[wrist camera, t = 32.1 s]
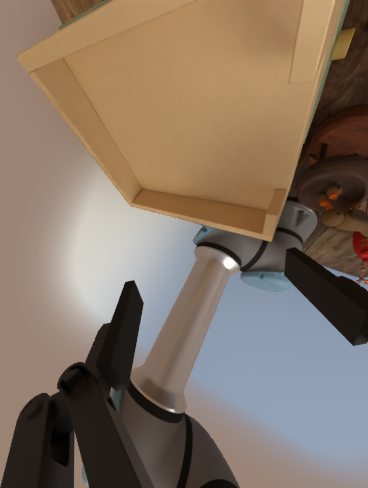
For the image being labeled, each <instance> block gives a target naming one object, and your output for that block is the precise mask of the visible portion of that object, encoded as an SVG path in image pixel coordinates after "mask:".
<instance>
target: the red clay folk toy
mask: <svg viewBox="0 0 368 488" xmlns="http://www.w3.org/2000/svg"><path fill="white" fill-rule="evenodd" d="M353 246H354V250H355V252H356V254H357V255H358V256H359V257H360V258H362V261H363V262H364V267H362V268H361V270H362V273H361V276H360V278H359V280H357V281H359V282H358V283H357V284H359V283H360V282H362V281H364V282H365V284H368V280H365V279H363V275H364V271H366V270H365V267H366V265H367V264H368V237H365V236H364V235H363V234H362V233H360V232H359V231H354V234H353Z"/></svg>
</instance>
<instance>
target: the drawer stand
mask: <svg viewBox="0 0 368 488" xmlns="http://www.w3.org/2000/svg"><path fill="white" fill-rule="evenodd" d="M349 2H350V0H104V1H102V2H101V3H99V4H97V5H95V6H94V7H92V8H90V9H89V10H87V11H85V12H84V13H82V14H80V15H79V16H77V17H75V18H74V19H72V20H70V21H69V22H67V23H65V24H63V25H62V26H60V27H59V29H60V30H59V31H57V32H56V33H54V34H52V35H51V36H49V37H47V38H45V39H44V40H42V41H40V42H38V43H37V44H35V45H33V46H31V47H30V48H28V49H26V50H25V51H23V52H21V53H19V54H17V55H16V58H17V59H18V60H19V62H20V63H21V64H22V66H23V67H24V68H25V70H26V71H27V72H29V75H30V76H31V77H32V79H33V80H34V81H35V83H36V84H37V85H38V86H39V88H40V89H41V90H42V92H43V93H44V94H45V95H46V97H47V98H48V99H49V101H50V102H51V103H52V105H53V106H54V107H55V109H56V110H57V111H58V112H59V114H60V115H61V116H62V118H63V119H64V120H65V122H66V123H67V124H68V125H69V127H70V128H71V129H72V131H73V132H74V133H75V135H76V136H77V137H78V139H79V140H80V141H81V142H82V144H83V145H84V146H85V148H86V149H87V150H88V151H89V153H90V154H91V156H92V157H93V158H94V159H95V161H96V162H97V163H98V165H99V166H100V167H101V168H102V170H103V171H104V173H105V174H106V175H107V176H108V178H109V179H110V180H111V182H112V183H113V184H114V185H115V187H116V188H117V189H118V191H119V192H120V193H121V195H122V196H123V197H124V199H125V200H126V201H127V203H128V204H129V205H130V206H131V207H135V208H140V209H143V210H147V211H151V212H155V213H159V214H163V215H167V216H171V217H175V218H179V219H183V220H187V221H191V222H195V223H199V224H203V225H207V226H210V227H214V228H218V229H222V230H226V231H230V232H234V233H238V234H242V235H246V236H250V237H254V238H258V239H262V240H266V241H270V242H271V241H272V239H273V236H274V233H275V230H276V227H277V224H278V222H279V219H280V216H281V213H282V210H283V207H284V204H285V201H286V198H287V196H288V193H289V190H290V187H291V183H292V180H293V177H294V173H295V170H296V166H297V163H298V160H299V156H300V153H301V149H302V146H303V144H304V142H305V139H306V137H307V134H308V131H309V128H310V125H311V122H312V120H313V117H314V114H315V111H316V108H317V105H318V102H319V100H320V96H321V93H322V90H323V87H324V83H325V80H326V77H327V74H328V70H329V67H330V64H331V60H336V59H342V58H345V56H346V53H347V51H348V48H349V45H350V42H351V39H352V36H353V33H354V30H355V28H352V29H347V30H343V31H341V28H342V25H343V21H344V18H345V15H346V11H347V8H348V5H349Z"/></svg>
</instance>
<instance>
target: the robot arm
mask: <svg viewBox="0 0 368 488" xmlns="http://www.w3.org/2000/svg"><path fill="white" fill-rule="evenodd" d="M317 222H318V213H317V211H315V210H312V209H309V208H307V207H306V206H304V205H303V204H302V203H301V202H300V201H299V200H298V199H293V198H286V201H285V204H284V207H283V210H282V213H281V216H280V219H279V222H278V224H277V227H276V230H275V233H274V236H273V239H272V241H271V242H270V241H266V240H262V239H258V238H254V237H250V236H246V235H242V234H238V233H234V232H230V231H226V230H222V229H218V228H214V227H210V226H207V225H203V227H202V228H201V229H200V231H199V232H198V233H197V235H196V236H195V238H194V239H193V242H194V243H195V245H197V247H196V248H195V251H194V253H195V256H196V262H195V264H194V266H193V268H192V270H191V272H190V274H189V276H188V278H187V280H186V282H185V284H184V286H183V288H182V290H181V292H180V294H179V296H178V298H177V300H176V302H175V304H174V306H173V307H172V309H171V311H170V313H169V315H168V318H167V319H166V321H165V323H164V325H163V327H162V329H161V331H160V333H159V335H158V337H157V339H156V341H155V343H154V345H153V347H152V349H151V351H150V353H149V355H148V357H147V359H146V361H145V363H144V364H143V365H142V366H140V367H137V368H135V369H133V370H132V365H133V359H134V354H135V348H136V342H137V337H138V332H139V326H140V321H141V315H142V309H143V304H144V303H143V301H142V298H141V296H140V293H139V291H138V288H137V286H136V284H135V281H134V280H133V281H128V282H125V284H124V288H123V290H122V293H121V296H120V298H119V301H118V304H117V307H116V309H115V312H114V315H113V318H112V320H111V323H107V324H103V326H102V327H101V328H100V330H99V331H98V333H97V335H96V338H95V341H94V342H93V345H92V347H91V350H90V352H89V354H88V357H87V359H86V362H85V364H84V363H83V362H77V363H75V364H73V365H71V366H70V367H68V368H67V369H66V370H65V371H64V372H63V374H62V375H61V377H60V378H59V381H58V384H57V389H59V390H60V391H59V392H58V393H56V394H54V395H52V396H49V395H48V394H47V393H41V394H39V395H37V396H35V397H34V398H33V399H31V400H30V401H29V402H28V403H27V404H26V405H25V407H24V408H23V410H22V411H21V413H20V415H19V417H18V420H17V423H16V427H15V431H14V435H13V439H12V443H11V447H10V452H9V455H8V459H7V463H6V467H5V471H4V475H3V479H2V483H1V487H0V488H74V430H75V434H76V438H77V442H78V446H79V450H80V454H81V458H82V462H83V467H82V478H83V481H84V483H85V484H86V485H88V486H89V488H240V487H239V485H238V483H237V481H236V479H235V477H234V475H233V473H232V471H231V469H230V467H229V466H228V464H227V462H226V460H225V459H224V457H223V455H222V453H221V452H220V450H219V448H218V447H217V445H216V444H215V442H214V441H213V439H212V438H211V437H210V435H209V434H208V433H207V431H206V430H205V429H204V428H203V427H202V426H201V425H200V424H199V423H198V422H197V421H196V420H195V419H194V418H192V417H190V416H188V415H187V414H185V410H186V407H187V405H186V400H185V396H184V388H185V386H186V383H187V381H188V378H189V376H190V373H191V371H192V368H193V366H194V363H195V360H196V358H197V356H198V353H199V351H200V348H201V346H202V344H203V341H204V338H205V336H206V334H207V331H208V329H209V326H210V324H211V321H212V318H213V316H214V314H215V311H216V309H217V306H218V304H219V301H220V299H221V296H222V294H223V291H224V289H225V286H226V284H227V281H228V279H229V276H230V275H232V274H235V273H238V272H239V270H240V271H242V273H241V280H243V282H245V283H246V284H248V285H251V286H253V287H256V288H259V289H262V290H267V291H273V292H284V291H287V290H289V289H290V288H291V286H292V284H293V285H294V286H295V287H296V288H297V289H298V290H299V291H300V292H301V293H302V294H303V295H304V296H305V297H306V298H307V299H308V300H309V301H310V302H311V303H312V304H313V305H314V306H315V307H316V308H317V309H318V310H319V311H320V312H321V313H322V314H323V315H324V316H325V317H326V318H327V319H328V321H329V322H331V324H332V325H333V326H335V328H336V329H337V330H338V331H339V332H340V333H341V334H342V335H343V336H344V337H345V338H346V339H347V340H348V341H349V342H350V343H351V344H352V345H353V346H355V345H361V344H366V343H367V342H368V291H367V290H366V289H365V288H363V287H361V286H360V285H359V284H357V283H356V282H354V281H353V280H351V279H348V278H346V277H343V276H339V277H337V276H335V275H334V274H332V273H331V272H330V271H328V270H326V269H325V268H324V267H323V266H321V265H320V264H318V263H317V262H316V261H314V260H313V259H311V258H310V257H309V256H307V255H306V254H304V253H303V252H302V247H303V243H304V242H305V240H306V239H307V238H308V237H309V235H310V234H311V233H312V232H313V230H314V229H315V227H316V226H317ZM131 370H132V371H131ZM111 387H112V390H111ZM110 391H111V392H110Z"/></svg>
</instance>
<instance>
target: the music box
mask: <svg viewBox="0 0 368 488" xmlns="http://www.w3.org/2000/svg"><path fill="white" fill-rule="evenodd" d="M306 159H307V161H308V164H309V167H308V168H307V169H306V170H305V171H304V172H303V173H302V174H301V175H300V177H299V179H298V181H297V183H296V195H297V198H298V200H299V201H300V202H301V203H302V204H303V205H304V206H306V207H307V208H309V209H312V210H315V211H319V212H324V213H323V214H322V216H321V221H322V222H323V223H324V224H325V225H327V226H330V227H332V228H334V229H337V230H340V231H346V232H352V231H359V232H360V233H362V234H363V235H364V236H365V237H368V214H367V209H368V105H360V106H355V107H351V108H347V109H345V110H342V111H340V112H338V113H336V114H334V115H333V116H331V117H329V118H328V119H327V120H325V121H324V122H323V123H322V124H321V125H320V126H319V127H318V128H317V130H316V131H315V133H314V134H313V136H312V139H311V142H310V145H309V148H308V151H307V153H306V154H305V156H304V157H303V159H302V161H301V162H300V164H299V165H298V167H296V170H295V172H298V171H299V170H300V168H301V166H302V165H303V163H304V162H305V160H306ZM366 199H367V207H366V213H365V212H363V211H361V210H358V208H360V207H361V203H362V202H364V201H365V200H366ZM350 208H352V209H351V210H350Z"/></svg>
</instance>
